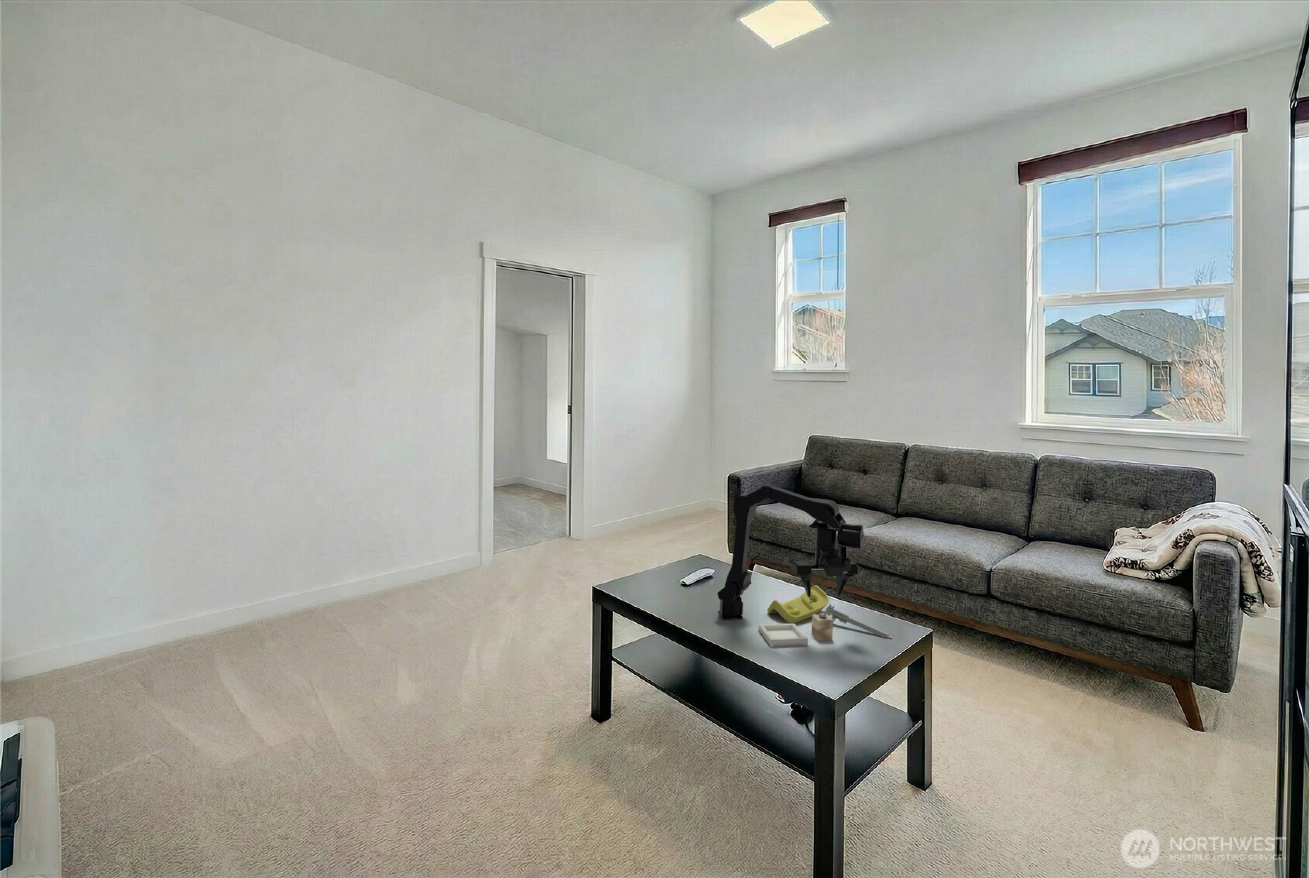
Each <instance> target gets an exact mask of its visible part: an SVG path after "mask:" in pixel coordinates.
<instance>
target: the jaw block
mask: <svg viewBox="0 0 1309 878" xmlns="http://www.w3.org/2000/svg"><path fill="white" fill-rule="evenodd" d="M811 619H812V620H811V635H812V636H813V637H814V639H815V640H817V641H832V640H833V635H834V634H833V630H834V622H833V619H832V616H831V617H830V615H829V616H828V615H827V614H826V613H825V612H818V614H817V613H816V614H814V615H812V617H811Z"/></svg>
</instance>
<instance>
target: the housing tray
mask: <svg viewBox="0 0 1309 878" xmlns="http://www.w3.org/2000/svg"><path fill="white" fill-rule="evenodd" d="M758 632H759V634H760V635H761V634H762V635H761V637H762V638H763V639H764V641H767V642H766V643H767V644H768V645H769V647H772V648H773V647H774V648H775V647H779V648H780V647H796V646H797V647H798V646H799V647H800V646H801V647H802V646H806V647H807V646H808V645H809V638H808V637H807V636H806V634H804V633H803V631H801V629H800V628H799V627H798V626H797V625H796V623H771V624H770V623H769V624H765V623H764V624H763V623H762V624H758Z"/></svg>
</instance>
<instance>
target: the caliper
mask: <svg viewBox="0 0 1309 878" xmlns="http://www.w3.org/2000/svg"><path fill="white" fill-rule="evenodd" d="M834 608H835V605H833V606H832V604H831V603H830V604H828V606H826V607H825V611H824V613H826V614H827V615H828V616H829V617H830V615H831V618H832V619H833V623H834V622H835V620H836V619H837V620H839V622H840V623H844V624H845V625H846V624H847V623H848V624H849V623H850V624H852V625H853V626H856V627H858V628H861V629H863V630H865V631H867V632H869V633H872V634H874V635H877V636H878V635H879V637H881V636H882V637H881V638H884V637H885V639H889V638H892V639H893V637H892V635H889V633H888V632H886V631H884V630H881V629H878V628H877V627H874V626H872V625H870V624H867V623H865V622H862V621H860V620H858V619H855V618H853V617H851V616H850V615H849V614H847V613H845V612H842V611H840V610H838V609H836V608H835V609H834Z"/></svg>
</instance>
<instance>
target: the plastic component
mask: <svg viewBox="0 0 1309 878" xmlns="http://www.w3.org/2000/svg"><path fill="white" fill-rule="evenodd" d="M829 603H830V598H829V595H827V593H826V592H825V591H824V590H823V589H822V588H820V587H819V586H818V585H813V586H811V594H810V597H808V596H807V593H806V591H805V592H803V593H802V594H801V595H800V596H799V597H796V598H793V599H791V600H789V601H786V602H785V601H784V602H783V603H780V602H779V601H778V600H777V599H774V600H772V602H771V604H770V605H769V606H768V608H767V610H766V611H767V613H768V614H771V615H772V614H775V613H778V614H779V615H780V617H782V618H783V619H784V620H785V621H786V622H787V623H788V624H797V623H799V622H802V621H804V620H807V619H809V618H812V615H814V614H817V613H819V612H821V611H822V610H824V609H826V608H827V607H828V605H829Z"/></svg>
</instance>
